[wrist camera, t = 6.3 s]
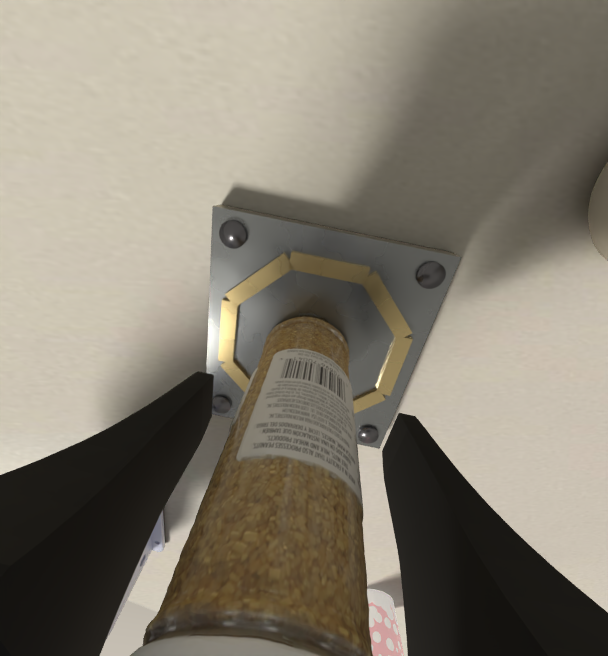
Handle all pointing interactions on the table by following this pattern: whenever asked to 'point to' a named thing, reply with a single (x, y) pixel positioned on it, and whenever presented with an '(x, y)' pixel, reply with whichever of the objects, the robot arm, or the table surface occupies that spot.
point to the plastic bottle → (599, 213)
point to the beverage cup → (383, 625)
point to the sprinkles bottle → (278, 518)
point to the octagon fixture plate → (321, 304)
